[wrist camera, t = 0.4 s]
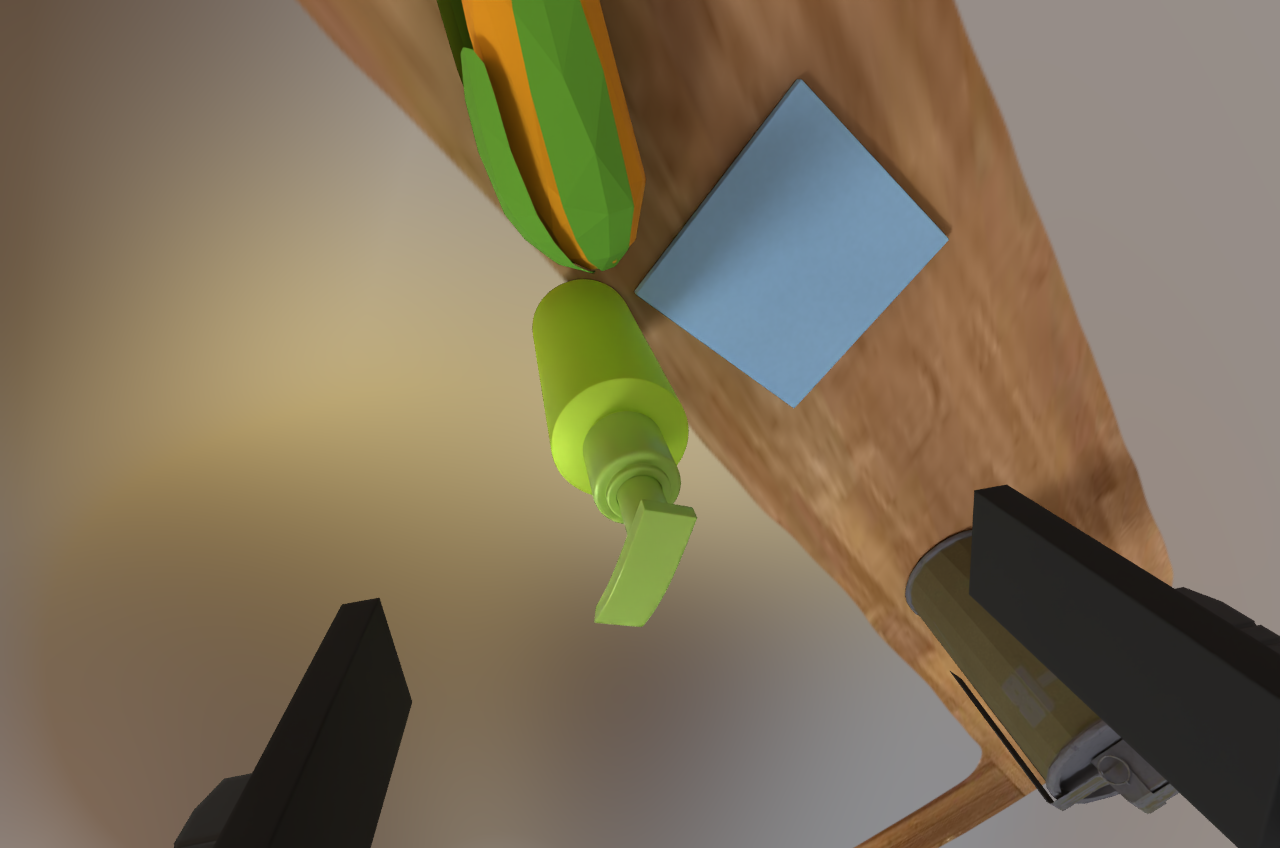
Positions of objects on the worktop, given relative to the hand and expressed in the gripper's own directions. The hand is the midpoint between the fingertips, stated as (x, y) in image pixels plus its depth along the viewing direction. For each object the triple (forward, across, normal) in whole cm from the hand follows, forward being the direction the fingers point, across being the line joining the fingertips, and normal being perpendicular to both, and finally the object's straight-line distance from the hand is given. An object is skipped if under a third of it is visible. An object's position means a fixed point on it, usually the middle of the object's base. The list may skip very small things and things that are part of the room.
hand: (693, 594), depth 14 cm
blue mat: (+26, +12, +3) cm, 29 cm away
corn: (+23, -2, +15) cm, 28 cm away
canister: (+34, +28, -27) cm, 51 cm away
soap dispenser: (+26, -1, +1) cm, 26 cm away
